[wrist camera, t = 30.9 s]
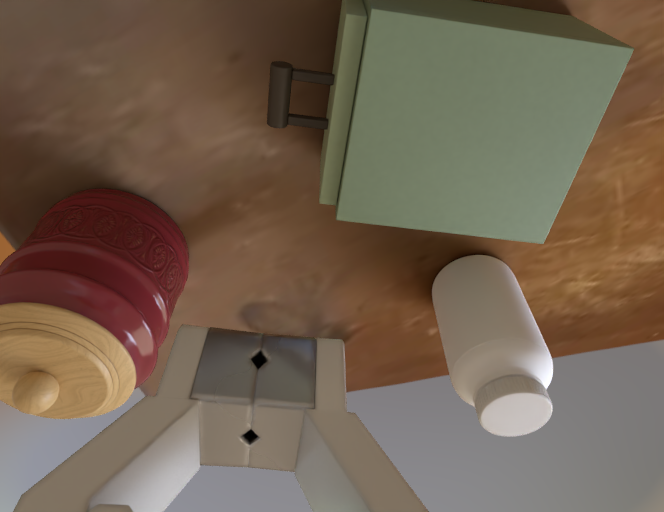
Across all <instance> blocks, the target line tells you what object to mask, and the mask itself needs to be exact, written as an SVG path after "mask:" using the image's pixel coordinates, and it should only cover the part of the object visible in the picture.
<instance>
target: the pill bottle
mask: <svg viewBox="0 0 664 512" xmlns="http://www.w3.org/2000/svg"><path fill="white" fill-rule="evenodd" d="M432 300H433V305H434V309H435V313H436V318H437V322H438V326H439V331H440V335H441V340H442V344H443V348H444V353H445V357H446V361H447V366H448V370H449V374H450V378H451V382H452V385H453V387H454V389H455V390H456V392H457V393H458V395H459V396H460V397H461V398H462V399H463V400H464V401H466V402H467V403H468V404H470V405H472V406H474V407H475V408H476V412H477V416H478V419H479V422H480V424H481V425H482V427H483V428H485V429H486V430H487V431H489V432H491V433H493V434H495V435H499V436H520V435H524V434H528V433H531V432H533V431H535V430H537V429H539V428H540V427H542V426H543V425H544V424H545V423H546V422H547V421H548V420H549V418H550V417H551V414H552V410H553V406H552V402H551V400H550V397H549V395H548V393H547V390H546V389H547V387H548V386H549V384H550V382H551V379H552V375H553V362H552V358H551V355H550V353H549V350H548V348H547V346H546V344H545V342H544V339H543V337H542V335H541V333H540V331H539V328H538V326H537V324H536V322H535V320H534V317H533V315H532V313H531V311H530V309H529V306H528V304H527V302H526V300H525V298H524V295H523V293H522V291H521V289H520V287H519V284H518V282H517V280H516V278H515V276H514V274H513V272H512V271H511V269H510V268H509V267H508V266H507V265H506V264H505V263H504V262H502V261H501V260H499V259H497V258H494V257H491V256H486V255H471V256H466V257H462V258H459V259H457V260H455V261H453V262H451V263H449V264H448V265H447V266H445V267H444V268H443V269H442V270H441V271H440V272H439V274H438V275H437V277H436V278H435V280H434V283H433V287H432Z"/></svg>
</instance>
